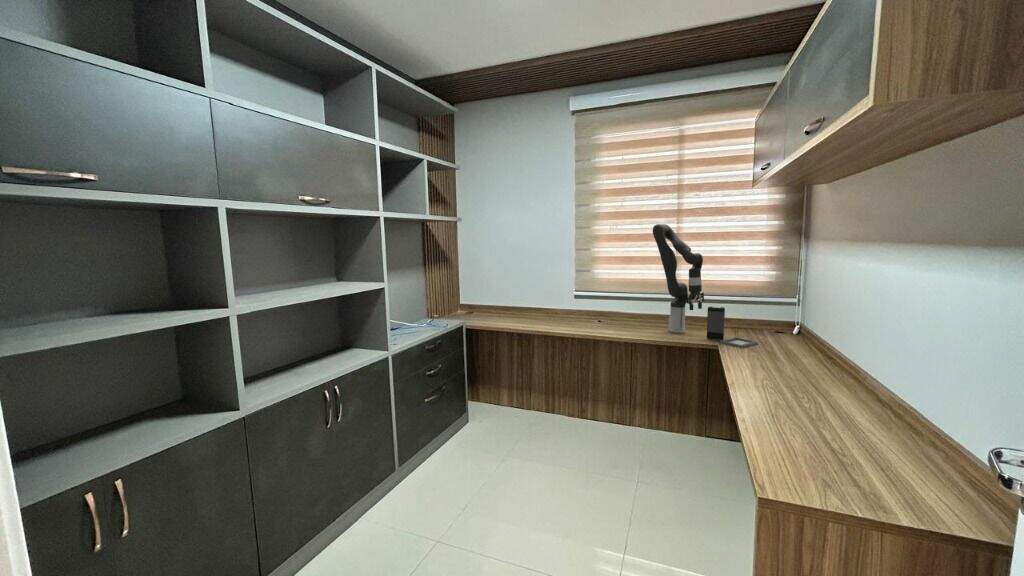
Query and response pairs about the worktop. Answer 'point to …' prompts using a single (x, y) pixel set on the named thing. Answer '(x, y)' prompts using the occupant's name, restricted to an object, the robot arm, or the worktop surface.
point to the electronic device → (715, 323)
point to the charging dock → (739, 342)
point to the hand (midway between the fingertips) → (695, 309)
